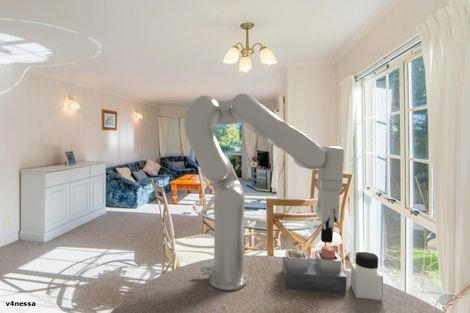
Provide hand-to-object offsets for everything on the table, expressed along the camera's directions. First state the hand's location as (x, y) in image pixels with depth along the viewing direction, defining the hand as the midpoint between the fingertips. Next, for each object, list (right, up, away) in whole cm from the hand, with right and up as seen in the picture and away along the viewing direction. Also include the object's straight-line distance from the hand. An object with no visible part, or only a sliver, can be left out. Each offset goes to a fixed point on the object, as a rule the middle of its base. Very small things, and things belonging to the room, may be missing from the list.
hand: (326, 241), depth 85 cm
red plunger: (+1, -6, 0) cm, 6 cm away
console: (-4, -13, +1) cm, 14 cm away
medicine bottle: (+10, -14, -6) cm, 18 cm away
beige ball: (-9, -8, +1) cm, 12 cm away
